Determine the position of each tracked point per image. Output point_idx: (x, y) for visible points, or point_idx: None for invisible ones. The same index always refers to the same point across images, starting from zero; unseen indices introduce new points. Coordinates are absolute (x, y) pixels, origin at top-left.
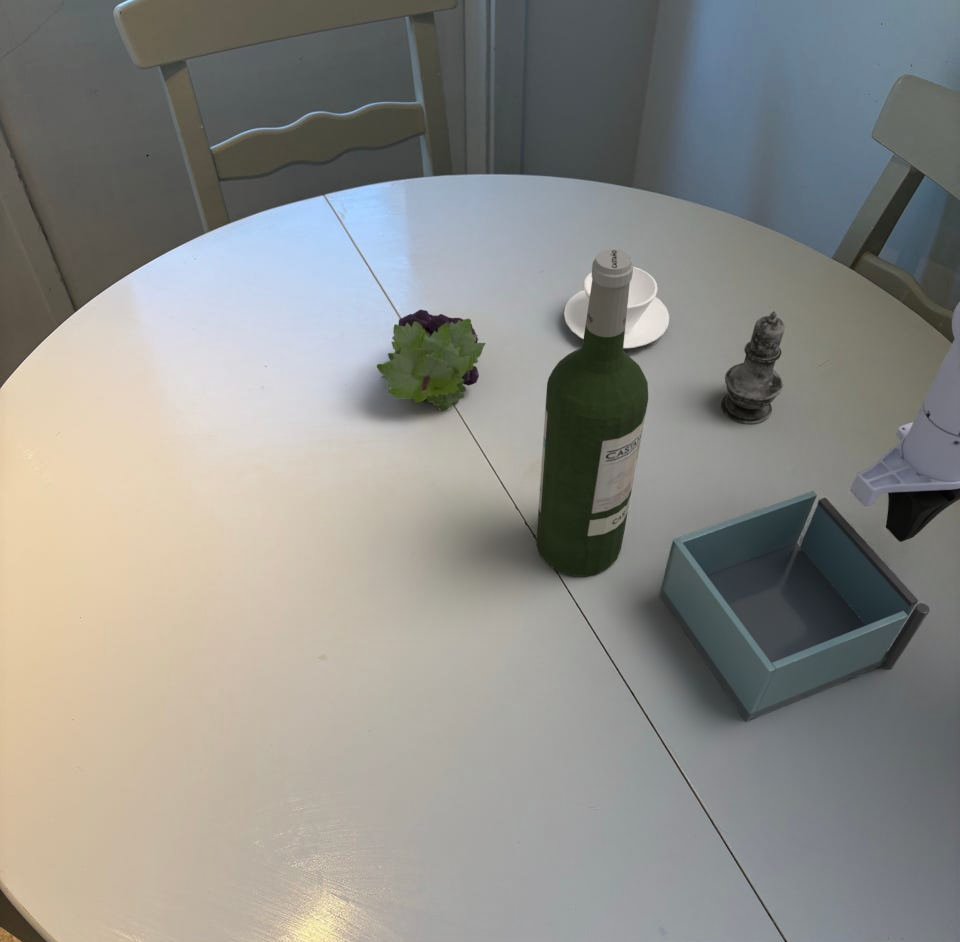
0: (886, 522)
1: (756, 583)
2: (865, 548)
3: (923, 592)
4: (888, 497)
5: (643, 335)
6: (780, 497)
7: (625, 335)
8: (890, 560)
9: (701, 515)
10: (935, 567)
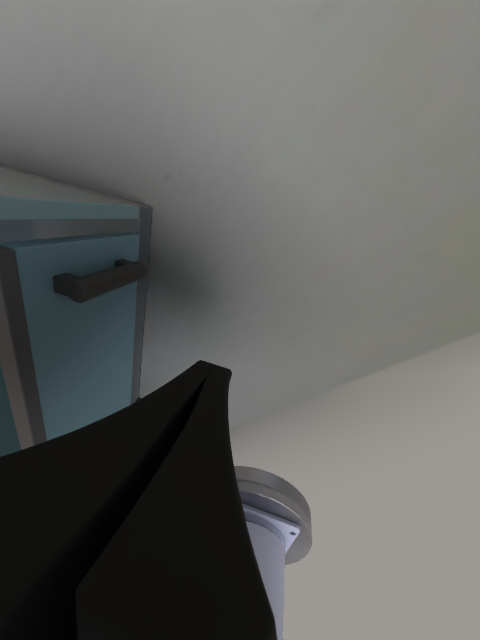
0: (192, 365)
1: (36, 237)
2: (16, 417)
3: (253, 388)
4: (129, 405)
5: None
6: (228, 76)
7: None
8: (266, 332)
9: (47, 3)
10: (306, 380)
